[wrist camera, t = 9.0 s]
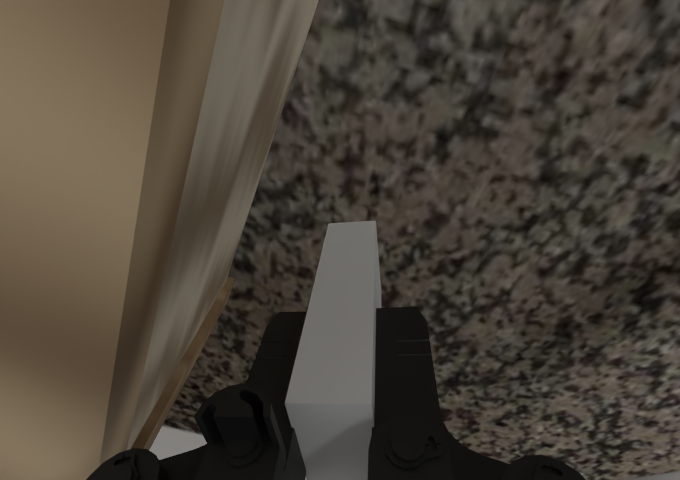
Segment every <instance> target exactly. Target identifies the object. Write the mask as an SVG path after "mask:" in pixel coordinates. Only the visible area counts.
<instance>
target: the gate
mask: <svg viewBox="0 0 680 480" xmlns="http://www.w3.org/2000/svg"><path fill="white" fill-rule="evenodd" d="M318 1H319V0H0V480H86V479H87V478H88V477H89V476H90V475H91V474H92V473H93V472H94V471H95V470H96V469H97V468H98V467H99V466H100V465H101V464H102V463H103V462H105V461H106V460H108V459H109V458H111V457H113V456H114V455H116V454H118V453H119V452H123V451H126V450H129V449H133V448H140V449H148V450H149V449H150V447H151V446H152V444H153V442H154V440H155V438H156V436H157V434H158V432H159V430H160V428H161V427H162V425H163V423H164V421H165V419H166V417H167V415H168V413H169V411H170V409H171V408H172V406H173V404H174V402H175V400H176V398H177V396H178V394H179V392H180V390H181V389H182V387H183V385H184V383H185V381H186V379H187V377H188V375H189V373H190V371H191V370H192V368H193V366H194V364H195V362H196V360H197V358H198V356H199V354H200V353H201V351H202V349H203V347H204V345H205V343H206V341H207V339H208V337H209V335H210V334H211V332H212V330H213V328H214V326H215V324H216V322H217V320H218V318H219V316H220V315H221V313H222V311H223V309H224V307H225V305H226V303H227V301H228V298H229V295H230V292H231V289H232V287H233V284H234V281H235V278H233V277H230V276H228V274H229V271H230V268H231V265H232V262H233V259H234V256H235V253H236V250H237V247H238V244H239V241H240V238H241V235H242V232H243V229H244V226H245V222H246V219H247V216H248V213H249V210H250V207H251V204H252V201H253V198H254V195H255V192H256V189H257V186H258V183H259V180H260V177H261V174H262V171H263V168H264V165H265V162H266V159H267V156H268V153H269V150H270V147H271V144H272V141H273V138H274V135H275V132H276V129H277V125H278V122H279V119H280V116H281V113H282V110H283V107H284V104H285V101H286V98H287V95H288V92H289V89H290V86H291V83H292V80H293V77H294V74H295V71H296V68H297V65H298V62H299V59H300V56H301V53H302V50H303V47H304V44H305V41H306V38H307V35H308V32H309V28H310V25H311V22H312V19H313V16H314V13H315V10H316V7H317V4H318Z"/></svg>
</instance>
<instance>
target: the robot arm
mask: <svg viewBox="0 0 680 480" xmlns="http://www.w3.org/2000/svg"><path fill="white" fill-rule="evenodd" d="M194 417H195V419H196V421H197V423H198V425H199V428H200V430H201V432H202V434H203V436H204V438H205V440H206V442H207V444H206V445H204V446H202V447H199V448H197V449H194V450H191V451H188V452H185V453H182V454H178V455H175V456H172V457H169V458H165V459H162V460H158V458H157V456H156V455H155V454H153V453H152V452H150V451H149V450H148V449H140V448H133V449H129V450H126V451H123V452H119V453H118V454H116V455H114V456H113V457H111V458H109V459H108V460H106V461H105V462H103V463H102V464H101V465H100V466H99V467H98V468H97V469H96V470H95V471H94V472H93V473H92V474H91V475H90V476H89V477H88V478H87V479H86V480H305V477H306V479H307V480H585V479H584V477H583V476H582V475H581V474H580V473H578V472H577V471H575V470H574V469H572V468H571V467H569V466H568V465H566V464H565V463H563V462H562V461H559V460H556V459H553V458H550V457H547V456H543V455H529V456H524V457H522V458H519V459H517V460H515V461H513V462H512V463H511V464H507V463H504V462H501V461H498V460H495V459H492V458H489V457H486V456H483V455H480V454H478V453H476V452H474V451H472V450H469V449H468V448H466V447H465V446H463V445H462V444H461V443H459V442H458V441H457V440H456V439H455V438H454V437H453V436H452V435H451V434H450V433H449V431H448V430H447V428H446V426H445V424H444V423H443V420H442V417H441V413H440V407H439V401H438V394H437V387H436V380H435V374H434V367H433V360H432V355H431V347H430V342H429V333H428V327H427V321H426V320H425V318H424V317H423V316H422V314H421V313H420V312H419V310H418V309H417V308H416V307H401V308H381V281H380V268H379V256H378V243H377V230H376V221H361V222H345V223H329V224H328V228H327V232H326V236H325V240H324V244H323V249H322V253H321V257H320V261H319V265H318V269H317V273H316V277H315V281H314V285H313V290H312V294H311V298H310V302H309V306H308V310H307V312H279V313H278V314H277V315H276V317H275V318H274V319H273V320H272V321H271V322H270V323H269V324H268V325H267V327H266V330H265V332H264V335H263V338H262V341H261V346H259V349H258V352H257V354H256V360H254V363H253V366H252V368H251V371H250V374H249V377H248V379H247V382H246V384H238V385H232V386H228V387H226V388H224V389H222V390H220V391H218V392H216V393H214V394H213V395H212V396H211V397H210V398H209V399H207V400H206V401H205V402H204V403H203V404H202V405H201V407H200V408H199V410H198V411H197V413H196V414H195V416H194Z"/></svg>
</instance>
